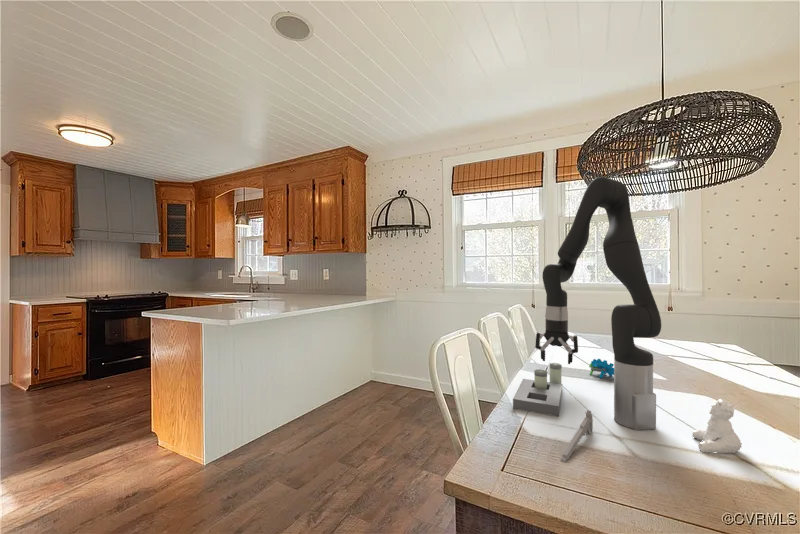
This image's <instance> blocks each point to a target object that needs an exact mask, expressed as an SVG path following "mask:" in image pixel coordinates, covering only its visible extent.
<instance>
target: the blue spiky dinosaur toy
mask: <svg viewBox="0 0 800 534" xmlns="http://www.w3.org/2000/svg"><path fill="white" fill-rule="evenodd" d="M588 365H589V366H588V367H589V368H590V373H589V375H590V376H592V375H593V372H599V373H600V374H599V376H598V377H599V378H600V379H603V377H604V375H608V376H610V377H613V376H614V363H612V362H610V363H608V360H605V359H603V361H602V360H601V358H597V359H596V358H593V360H592V361H590V363H589V364H588Z"/></svg>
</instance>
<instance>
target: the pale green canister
mask: <svg viewBox="0 0 800 534" xmlns="http://www.w3.org/2000/svg"><path fill="white" fill-rule="evenodd" d="M548 366H549V382H551V383H559V384H562V372H563V371H562V369H563V367H562V366H563V365H562V364H560V363H557V362H550V363H549V365H548Z"/></svg>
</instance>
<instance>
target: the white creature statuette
mask: <svg viewBox="0 0 800 534" xmlns="http://www.w3.org/2000/svg"><path fill="white" fill-rule="evenodd" d="M716 401H717V402H715V404H712V405H711V408H710V410H709V415H710V419H708V422H707V425H708V426H707V429H706V430H703V429H693V431H692V438H693V437H694V438H693V439H695V438H697V439H700V440H699V441H701V440H703V442H702V441H701V442H699V443H698V445H697V446H698V450H699V449H700V450H702V451H704V452H703V453H705V452H710V453H711V452H717V453H716V454H731V453H733V454H735V453H737V452H738V451H740V450H741V448H742V444H743V443H742V442H741V439H740V437H738V435H737V433H736V432H735V430H734V428H733V425H732V422H731V421H730V419H732V418H733V417H734V415H735V414H734V413H735V408H734V407H733V405H731V403H729V402H728V401H727V400H724V399H721V398H718V399H717V400H716ZM697 439H696V440H697ZM700 450H699V451H700ZM710 453H709V454H710ZM711 454H712V453H711Z"/></svg>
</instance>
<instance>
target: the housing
mask: <svg viewBox="0 0 800 534" xmlns="http://www.w3.org/2000/svg"><path fill="white" fill-rule="evenodd" d="M533 376H534V379H529V378H528V379H527V378H522V380H521V382H520V384H519V386H518V388H517V390H516V392H515V394H514V396H513V398H512V409H515V410H520V411H525V412H532V413H538V414H542V415H549V416H554V417H560V409H561V404H562V397H563V383H561V384H559V383H551V382H550V381H548V371H547V370H544V369H534V374H533Z"/></svg>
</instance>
